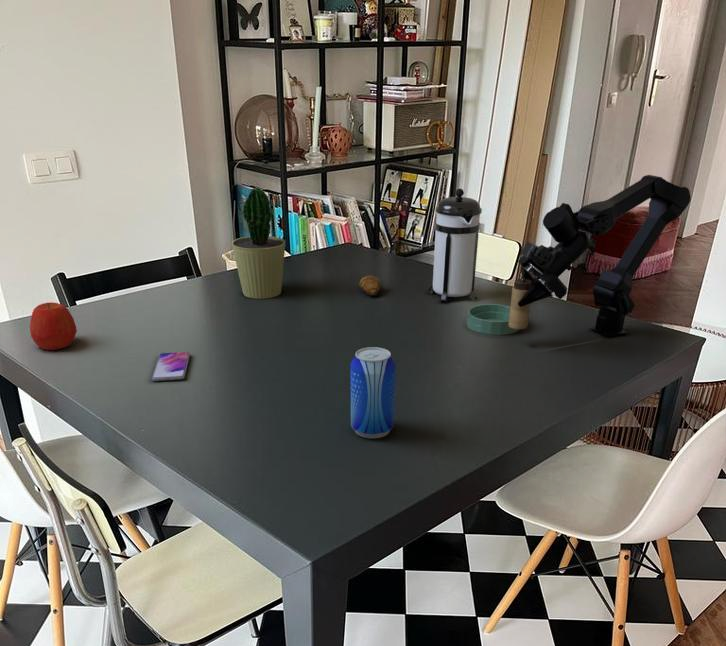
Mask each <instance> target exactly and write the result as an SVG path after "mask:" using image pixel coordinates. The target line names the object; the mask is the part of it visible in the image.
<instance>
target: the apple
mask: <svg viewBox="0 0 726 646" xmlns="http://www.w3.org/2000/svg"><path fill="white" fill-rule="evenodd" d="M29 332H30V337H31V339H32V340H33V343H34V344H35V345H36V346H37V347H39V348H40V349H41V350H47V351H58V350H60V349H64V348H67V347H68V346H71V345H72V344H73V342H74V339H75V337H76V335H77V332H78V330H77V326H76V322H75V319H74V317H73V315H72V314H71V312H70V311H69V309H68V308H67V307H66V306H65V305H64V304H61V303H59V302H52V301H50V302H43V303H41V304H38V305H36V307H34V308H33V309H32V313H31V317H30V322H29Z"/></svg>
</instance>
